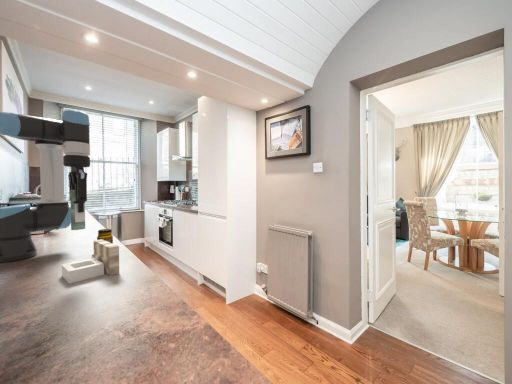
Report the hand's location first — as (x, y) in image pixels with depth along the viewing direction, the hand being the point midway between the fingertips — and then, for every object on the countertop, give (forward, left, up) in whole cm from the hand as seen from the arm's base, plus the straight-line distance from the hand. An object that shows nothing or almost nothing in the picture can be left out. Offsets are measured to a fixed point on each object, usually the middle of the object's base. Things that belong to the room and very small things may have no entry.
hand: (78, 221), depth 82 cm
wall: (+1, +8, -19) cm, 21 cm away
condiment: (-20, +14, -20) cm, 31 cm away
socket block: (+1, +1, -19) cm, 19 cm away
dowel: (0, 0, -3) cm, 3 cm away
